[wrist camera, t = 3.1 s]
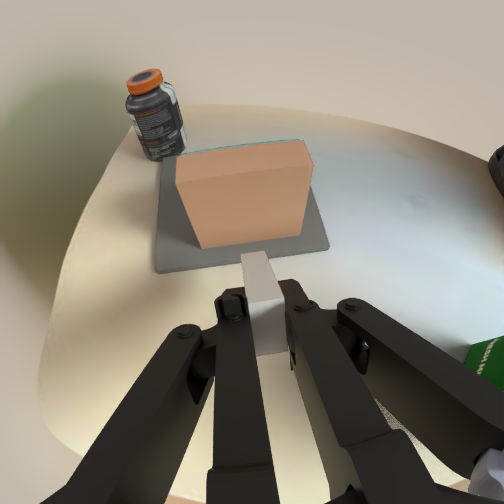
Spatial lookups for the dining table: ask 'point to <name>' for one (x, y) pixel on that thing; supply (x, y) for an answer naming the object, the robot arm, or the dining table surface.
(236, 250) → the mat
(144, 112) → the pill bottle
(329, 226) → the dining table surface
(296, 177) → the tile
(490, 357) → the milk carton
